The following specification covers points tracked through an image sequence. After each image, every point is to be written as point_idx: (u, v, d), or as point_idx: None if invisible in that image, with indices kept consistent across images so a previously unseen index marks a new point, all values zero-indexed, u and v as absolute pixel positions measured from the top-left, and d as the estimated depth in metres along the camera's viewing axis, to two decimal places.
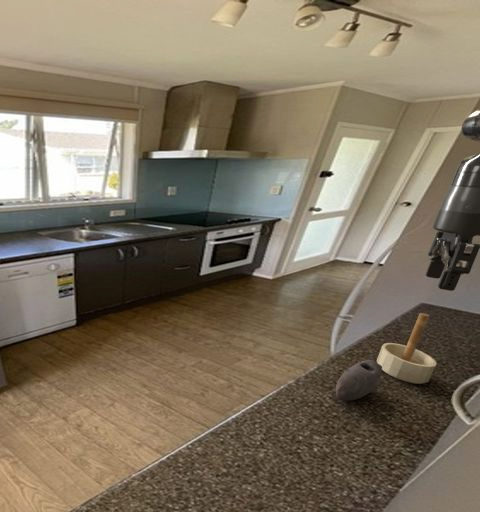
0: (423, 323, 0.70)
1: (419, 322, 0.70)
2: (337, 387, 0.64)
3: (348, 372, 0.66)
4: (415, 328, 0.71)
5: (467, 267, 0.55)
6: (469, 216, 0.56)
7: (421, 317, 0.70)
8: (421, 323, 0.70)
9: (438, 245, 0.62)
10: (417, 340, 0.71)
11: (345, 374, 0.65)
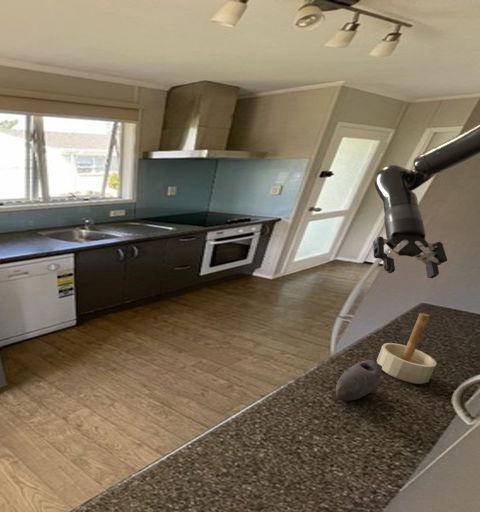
0: (423, 323, 0.70)
1: (419, 322, 0.70)
2: (337, 387, 0.64)
3: (348, 372, 0.66)
4: (415, 328, 0.71)
5: None
6: (386, 226, 0.84)
7: (421, 317, 0.70)
8: (421, 323, 0.70)
9: None
10: (417, 340, 0.71)
11: (345, 374, 0.65)
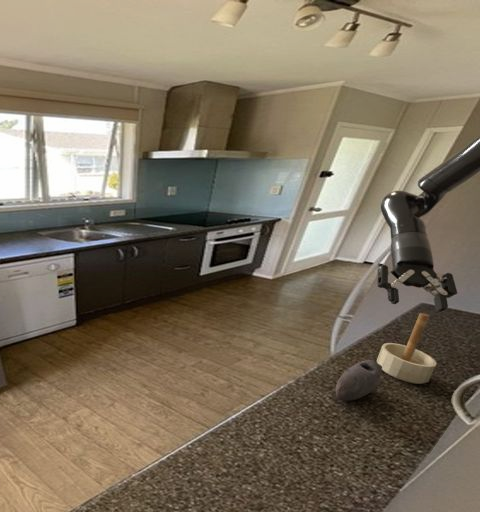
0: (423, 323, 0.70)
1: (419, 322, 0.70)
2: (337, 387, 0.64)
3: (348, 372, 0.66)
4: (415, 328, 0.71)
5: None
6: (392, 254, 0.81)
7: (421, 317, 0.70)
8: (421, 323, 0.70)
9: None
10: (417, 340, 0.71)
11: (345, 374, 0.65)
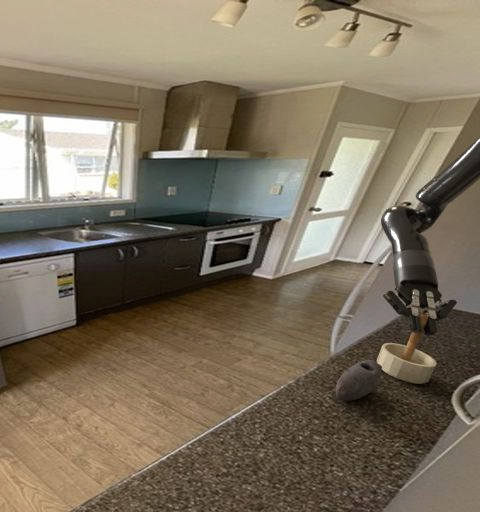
0: (423, 323, 0.70)
1: None
2: (337, 387, 0.64)
3: (348, 372, 0.66)
4: None
5: None
6: (394, 272, 0.78)
7: (421, 317, 0.70)
8: (421, 323, 0.70)
9: None
10: (417, 340, 0.71)
11: (345, 374, 0.65)
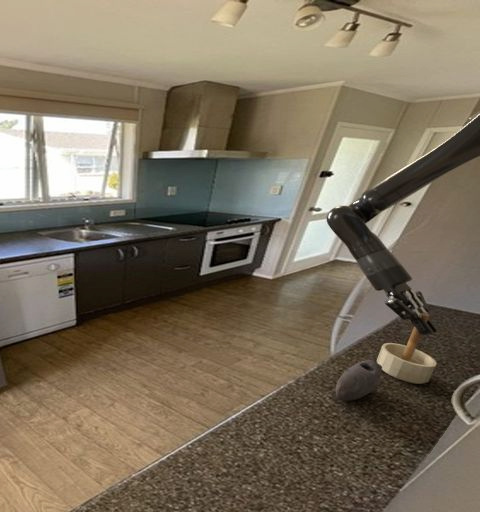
0: None
1: None
2: (337, 387, 0.64)
3: (348, 372, 0.66)
4: None
5: None
6: (374, 275, 0.75)
7: (425, 318, 0.69)
8: None
9: None
10: (418, 340, 0.71)
11: (345, 374, 0.65)
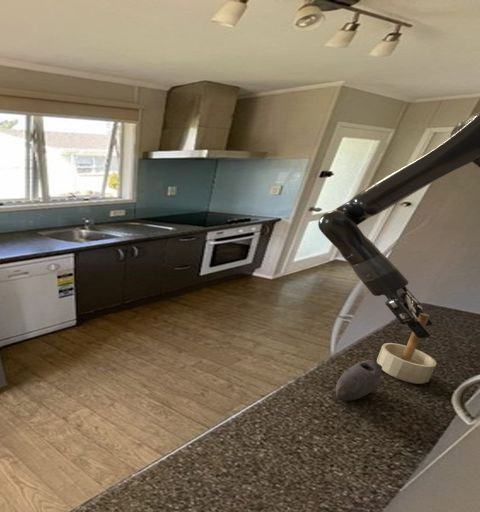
0: None
1: (425, 323, 0.70)
2: (337, 387, 0.64)
3: (348, 372, 0.66)
4: None
5: (409, 317, 0.67)
6: (375, 281, 0.73)
7: (426, 318, 0.69)
8: (425, 323, 0.70)
9: None
10: None
11: (345, 374, 0.65)
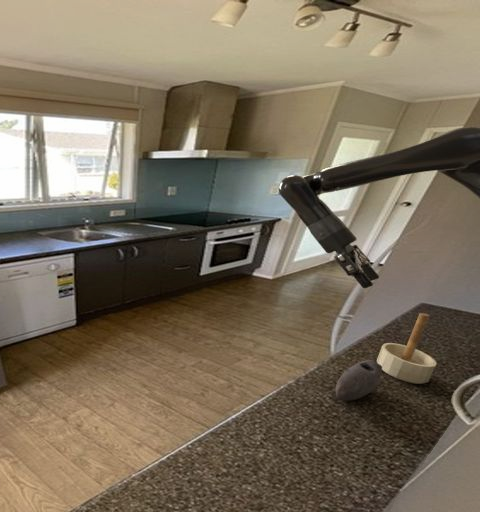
0: None
1: (425, 323, 0.70)
2: (337, 387, 0.64)
3: (348, 372, 0.66)
4: (420, 330, 0.70)
5: (354, 268, 0.73)
6: (327, 239, 0.79)
7: (426, 318, 0.69)
8: (425, 323, 0.70)
9: None
10: None
11: (345, 374, 0.65)
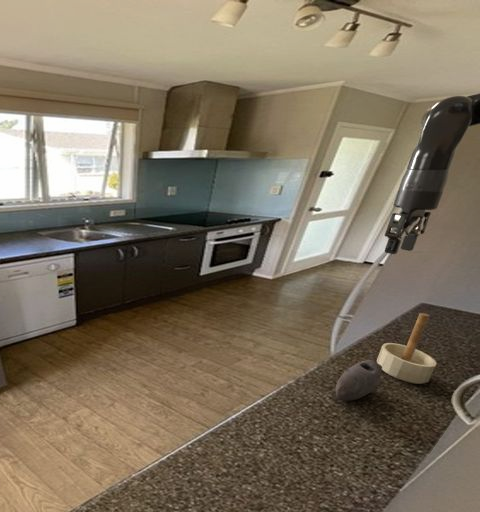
0: None
1: (425, 323, 0.70)
2: (337, 387, 0.64)
3: (348, 372, 0.66)
4: (420, 330, 0.70)
5: None
6: (408, 193, 0.70)
7: (426, 318, 0.69)
8: (425, 323, 0.70)
9: None
10: None
11: (345, 374, 0.65)
